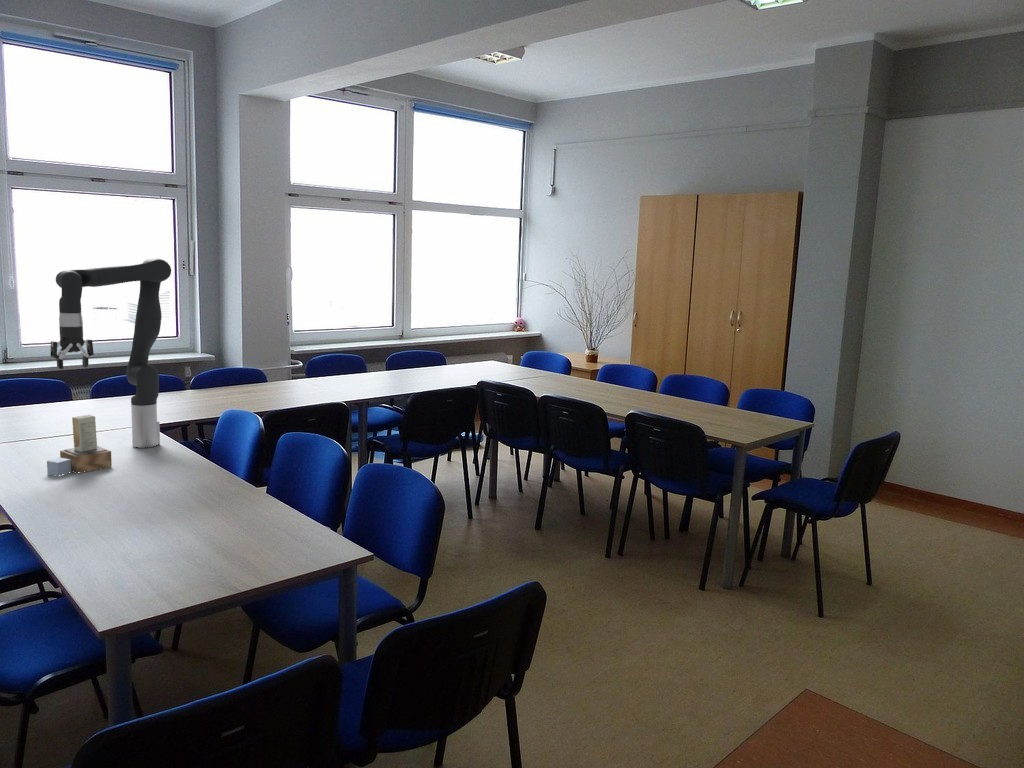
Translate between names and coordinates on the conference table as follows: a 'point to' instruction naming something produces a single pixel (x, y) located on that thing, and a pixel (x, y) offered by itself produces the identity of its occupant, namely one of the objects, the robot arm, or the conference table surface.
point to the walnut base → (87, 459)
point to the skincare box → (84, 433)
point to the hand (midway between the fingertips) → (73, 368)
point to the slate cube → (58, 466)
